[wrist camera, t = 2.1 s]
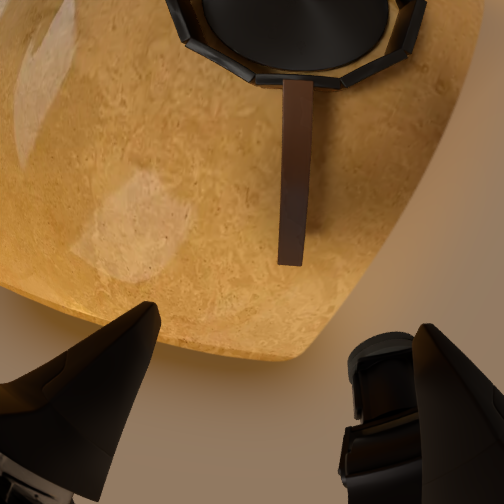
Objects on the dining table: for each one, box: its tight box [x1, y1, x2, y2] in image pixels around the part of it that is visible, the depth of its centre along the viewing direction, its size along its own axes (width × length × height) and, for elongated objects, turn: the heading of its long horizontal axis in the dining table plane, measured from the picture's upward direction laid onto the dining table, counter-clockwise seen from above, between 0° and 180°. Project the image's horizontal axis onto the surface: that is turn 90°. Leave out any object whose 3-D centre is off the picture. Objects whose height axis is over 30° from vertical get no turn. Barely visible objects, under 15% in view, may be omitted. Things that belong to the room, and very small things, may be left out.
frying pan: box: [165, 0, 427, 266], centre depth 11 cm, size 23×14×4 cm, turn 1°
